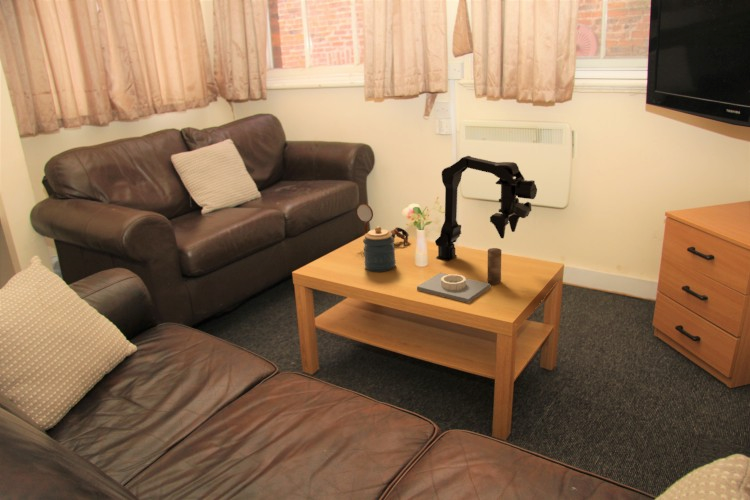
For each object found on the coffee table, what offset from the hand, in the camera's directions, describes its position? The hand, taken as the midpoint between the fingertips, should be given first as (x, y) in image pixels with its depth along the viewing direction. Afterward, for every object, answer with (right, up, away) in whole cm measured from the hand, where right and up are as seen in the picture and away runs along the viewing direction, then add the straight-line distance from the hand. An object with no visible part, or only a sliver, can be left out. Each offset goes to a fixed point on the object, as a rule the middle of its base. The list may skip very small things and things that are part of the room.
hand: (507, 234), depth 230 cm
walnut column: (-7, -18, -6) cm, 20 cm away
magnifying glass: (-56, -4, +43) cm, 70 cm away
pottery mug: (-42, -3, +43) cm, 61 cm away
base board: (-23, -20, -10) cm, 32 cm away
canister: (-50, -13, +16) cm, 54 cm away
